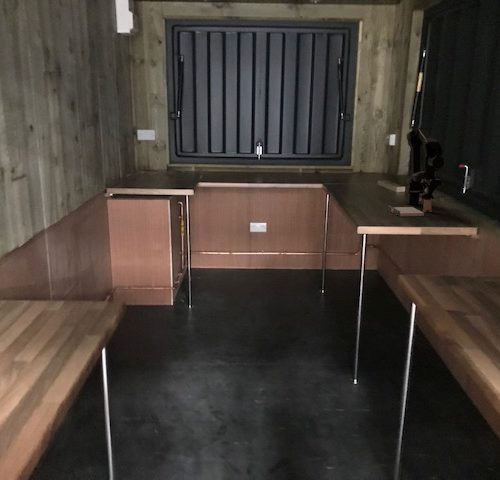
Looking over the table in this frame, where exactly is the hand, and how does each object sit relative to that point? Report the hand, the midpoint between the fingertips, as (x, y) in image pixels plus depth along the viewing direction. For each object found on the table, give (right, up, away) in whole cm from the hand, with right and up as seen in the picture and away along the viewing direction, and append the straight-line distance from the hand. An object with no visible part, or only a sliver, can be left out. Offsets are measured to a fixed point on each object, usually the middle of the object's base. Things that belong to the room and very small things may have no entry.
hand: (427, 197), depth 258 cm
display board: (-12, -8, -1) cm, 14 cm away
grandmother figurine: (0, -7, +2) cm, 8 cm away
